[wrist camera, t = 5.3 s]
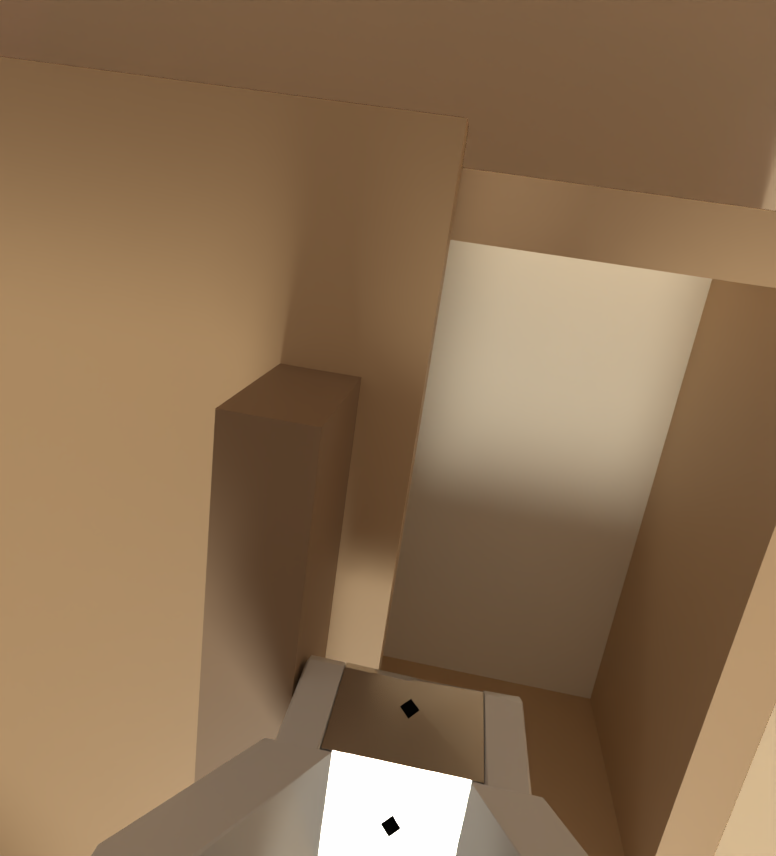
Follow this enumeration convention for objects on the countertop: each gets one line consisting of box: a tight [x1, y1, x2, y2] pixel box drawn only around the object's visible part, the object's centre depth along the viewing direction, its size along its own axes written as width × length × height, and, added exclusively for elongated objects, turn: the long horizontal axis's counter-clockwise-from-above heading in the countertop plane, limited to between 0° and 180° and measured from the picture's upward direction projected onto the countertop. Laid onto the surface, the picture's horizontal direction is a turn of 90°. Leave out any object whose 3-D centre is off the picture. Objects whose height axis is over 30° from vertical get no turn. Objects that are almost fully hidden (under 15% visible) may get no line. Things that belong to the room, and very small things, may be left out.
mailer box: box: [381, 168, 776, 856], centre depth 15 cm, size 16×14×7 cm
